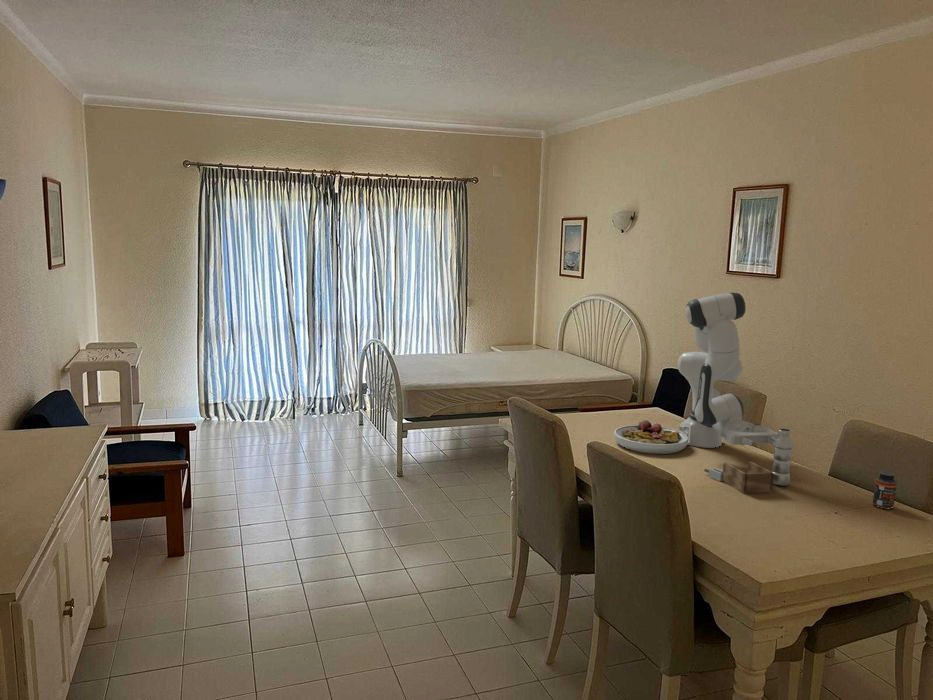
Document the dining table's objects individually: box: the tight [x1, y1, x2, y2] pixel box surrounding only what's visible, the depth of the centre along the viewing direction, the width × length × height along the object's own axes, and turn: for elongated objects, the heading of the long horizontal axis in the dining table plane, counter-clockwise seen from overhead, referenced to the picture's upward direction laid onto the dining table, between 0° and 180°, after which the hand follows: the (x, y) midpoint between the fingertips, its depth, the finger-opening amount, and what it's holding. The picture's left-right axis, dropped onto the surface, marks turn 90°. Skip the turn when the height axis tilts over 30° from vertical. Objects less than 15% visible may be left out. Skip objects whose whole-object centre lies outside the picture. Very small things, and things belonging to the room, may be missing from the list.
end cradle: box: [721, 461, 774, 495], centre depth 244 cm, size 13×11×7 cm
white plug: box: [704, 467, 723, 482], centre depth 252 cm, size 11×3×3 cm, turn 32°
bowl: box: [613, 419, 688, 455], centre depth 292 cm, size 30×30×8 cm
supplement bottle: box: [872, 471, 897, 508], centre depth 228 cm, size 6×6×11 cm
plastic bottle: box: [771, 428, 794, 487], centre depth 246 cm, size 6×7×20 cm
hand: (764, 443), depth 256 cm, fingers open, 8 cm apart
